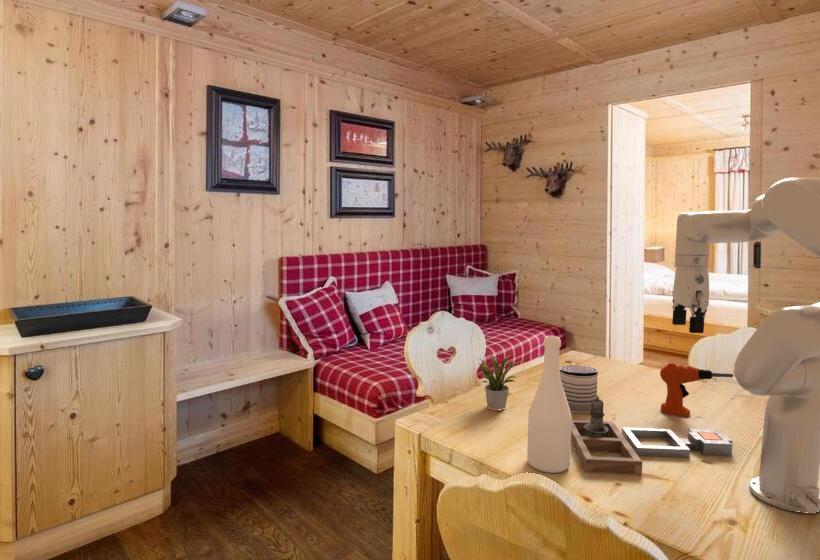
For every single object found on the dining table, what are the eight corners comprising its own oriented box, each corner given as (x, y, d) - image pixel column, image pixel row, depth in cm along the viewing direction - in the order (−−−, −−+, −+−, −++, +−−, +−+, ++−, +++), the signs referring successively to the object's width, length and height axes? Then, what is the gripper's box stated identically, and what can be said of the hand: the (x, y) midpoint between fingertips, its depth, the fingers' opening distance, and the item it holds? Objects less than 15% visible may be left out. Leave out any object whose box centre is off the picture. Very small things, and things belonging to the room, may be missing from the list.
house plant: (522, 399, 161) (523, 348, 159) (527, 416, 147) (529, 360, 145) (475, 398, 162) (476, 347, 160) (477, 414, 148) (478, 359, 146)
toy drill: (736, 421, 139) (732, 367, 138) (659, 415, 150) (655, 365, 149) (736, 416, 143) (732, 362, 142) (662, 410, 154) (657, 361, 153)
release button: (721, 450, 125) (721, 439, 125) (704, 449, 125) (705, 439, 125) (713, 443, 129) (714, 433, 128) (697, 442, 129) (698, 432, 129)
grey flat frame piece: (739, 459, 121) (740, 447, 120) (637, 455, 123) (637, 443, 123) (715, 438, 132) (715, 426, 132) (621, 434, 135) (622, 423, 134)
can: (556, 410, 152) (557, 370, 150) (558, 397, 162) (559, 360, 161) (597, 415, 148) (599, 374, 147) (596, 401, 159) (598, 363, 157)
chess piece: (588, 434, 135) (590, 390, 133) (611, 440, 131) (613, 395, 130) (579, 442, 130) (581, 396, 129) (603, 448, 127) (605, 401, 125)
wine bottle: (562, 454, 124) (566, 332, 120) (576, 474, 114) (581, 341, 110) (522, 455, 123) (525, 332, 120) (533, 475, 114) (537, 342, 110)
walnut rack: (641, 474, 114) (642, 461, 114) (585, 471, 115) (586, 459, 115) (612, 432, 136) (612, 421, 136) (565, 430, 137) (566, 419, 137)
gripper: (725, 264, 121) (720, 336, 123) (691, 259, 138) (687, 322, 140) (691, 264, 121) (687, 336, 123) (662, 258, 138) (658, 321, 140)
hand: (687, 328), depth 132 cm, fingers open, 9 cm apart
